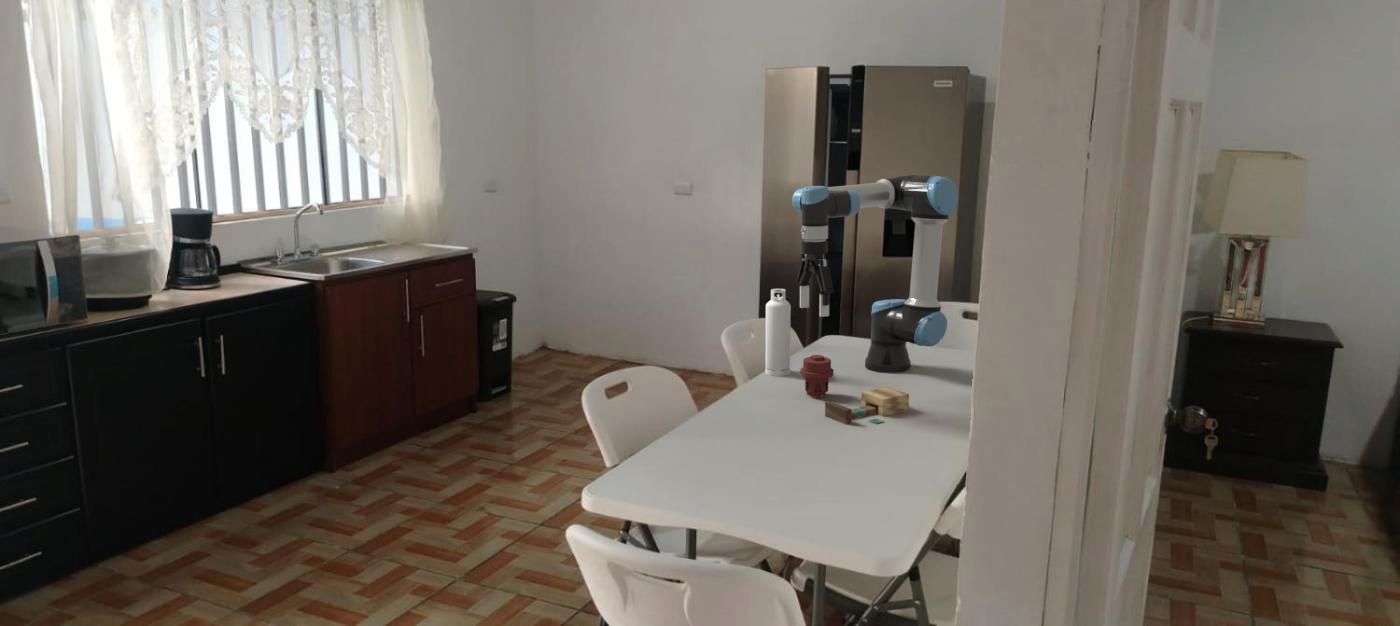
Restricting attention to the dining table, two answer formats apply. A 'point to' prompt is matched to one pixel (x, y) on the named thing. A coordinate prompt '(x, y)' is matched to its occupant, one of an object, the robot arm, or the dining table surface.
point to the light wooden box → (886, 400)
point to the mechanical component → (816, 375)
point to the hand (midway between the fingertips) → (814, 311)
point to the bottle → (777, 335)
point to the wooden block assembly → (849, 412)
